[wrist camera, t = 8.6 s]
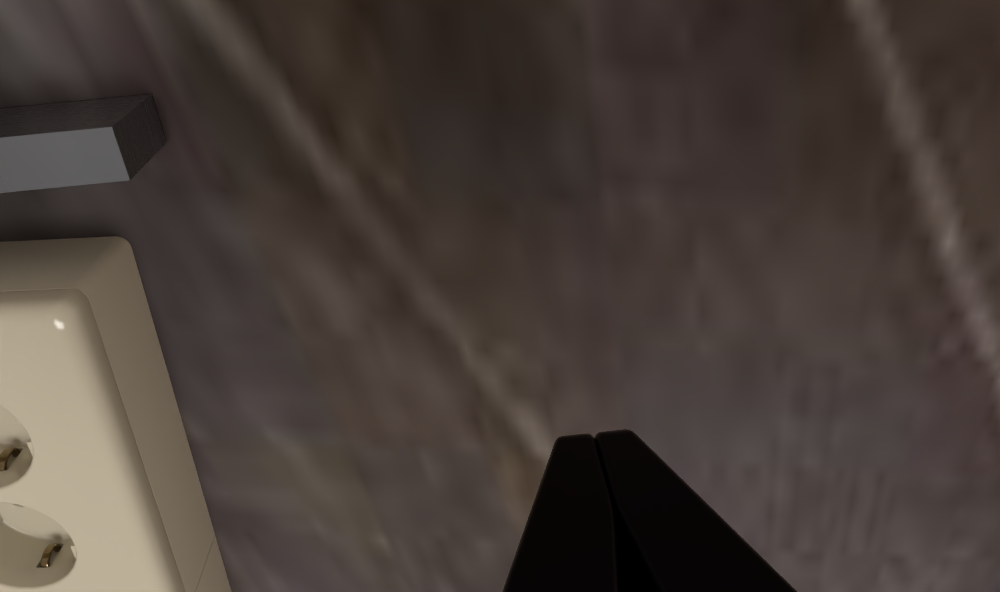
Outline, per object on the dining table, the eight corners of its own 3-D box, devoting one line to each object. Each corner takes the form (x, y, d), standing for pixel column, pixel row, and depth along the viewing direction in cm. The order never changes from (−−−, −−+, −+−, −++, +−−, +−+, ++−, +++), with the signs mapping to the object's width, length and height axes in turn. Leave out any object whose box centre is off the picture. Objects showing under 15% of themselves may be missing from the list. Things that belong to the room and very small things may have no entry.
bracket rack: (333, 689, 30) (323, 754, 28) (52, 716, 30) (21, 784, 28) (151, 93, 19) (111, 126, 17) (-298, 137, 19) (-396, 176, 17)
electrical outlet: (12, 787, 26) (-266, 323, 17) (65, 675, 30) (-143, 241, 21) (230, 774, 26) (68, 307, 18) (257, 663, 30) (133, 228, 21)
